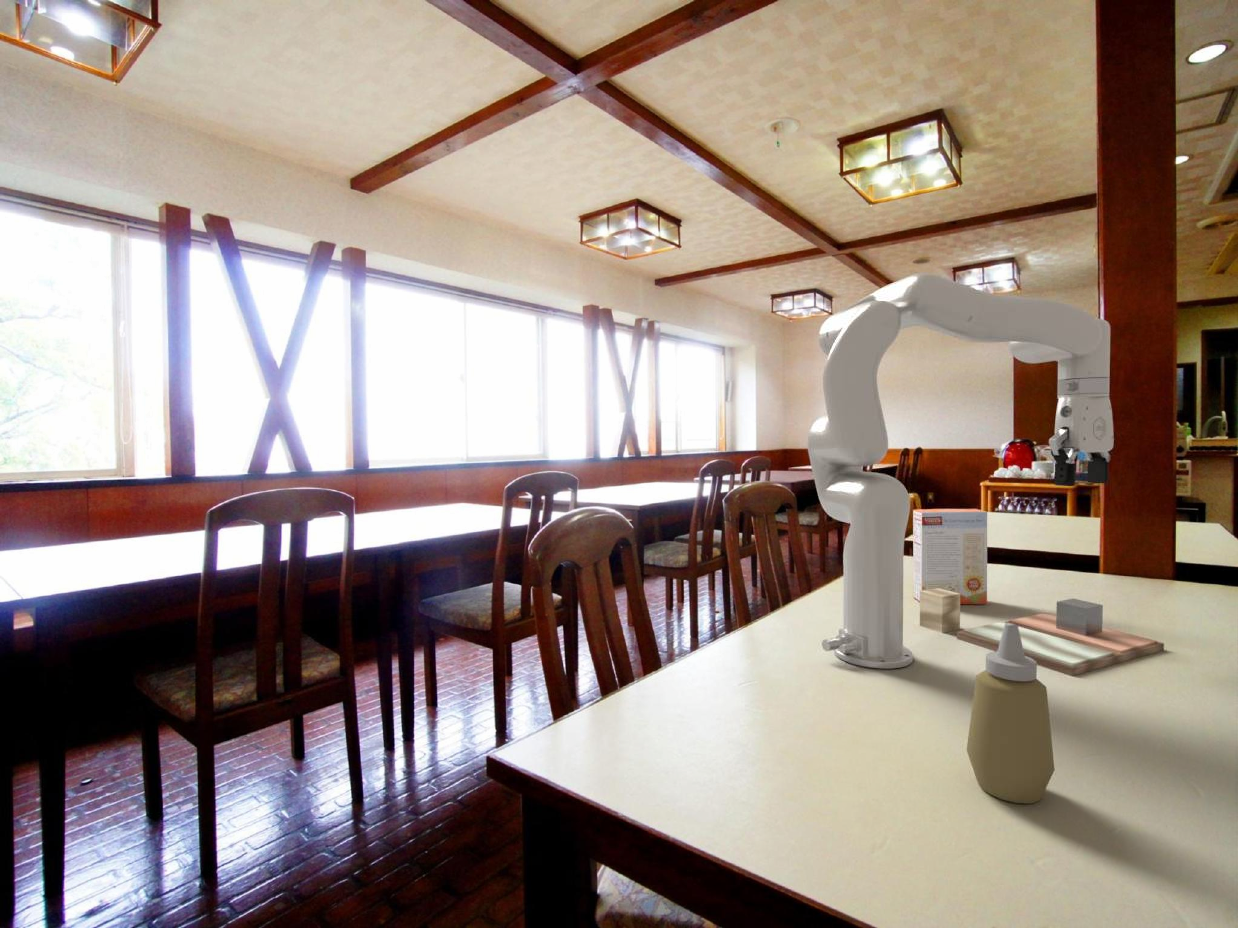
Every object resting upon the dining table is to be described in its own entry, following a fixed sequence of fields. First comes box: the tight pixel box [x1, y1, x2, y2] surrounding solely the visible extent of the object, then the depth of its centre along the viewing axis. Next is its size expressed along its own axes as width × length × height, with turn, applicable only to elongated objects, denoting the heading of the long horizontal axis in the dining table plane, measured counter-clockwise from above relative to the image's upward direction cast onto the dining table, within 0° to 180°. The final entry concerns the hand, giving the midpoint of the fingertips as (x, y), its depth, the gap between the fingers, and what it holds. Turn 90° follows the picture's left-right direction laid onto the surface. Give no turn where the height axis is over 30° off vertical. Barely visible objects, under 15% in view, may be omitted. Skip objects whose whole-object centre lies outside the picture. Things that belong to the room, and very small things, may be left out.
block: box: [919, 588, 961, 634], centre depth 122 cm, size 5×5×7 cm
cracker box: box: [912, 508, 988, 605], centre depth 140 cm, size 14×6×21 cm, turn 84°
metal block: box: [1055, 598, 1104, 636], centre depth 114 cm, size 5×5×5 cm
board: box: [956, 612, 1165, 677], centre depth 112 cm, size 26×20×2 cm
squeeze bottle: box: [966, 623, 1055, 805], centre depth 67 cm, size 8×8×18 cm
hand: (1081, 484), depth 113 cm, fingers open, 9 cm apart
